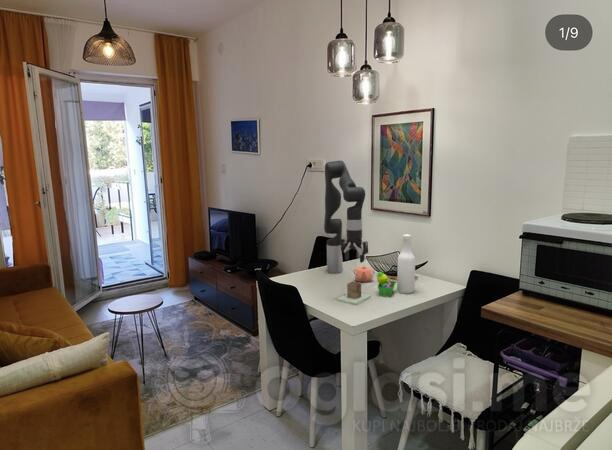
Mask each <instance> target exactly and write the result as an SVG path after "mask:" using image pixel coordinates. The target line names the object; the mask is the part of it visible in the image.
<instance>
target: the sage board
mask: <svg viewBox="0 0 612 450" xmlns="http://www.w3.org/2000/svg"><path fill="white" fill-rule="evenodd" d="M370 298H372V294H371V295H370V294H366V293H362V292H361V297H360V298H358V299H352V298H348V297H347V293H346V294H345V295H342V296H339V297H337V298H336V301H338V302H342V303H345V304H349V305H353V306H354V305H355V306H357V305H359V304H361V303H363V302H365V301H367V300H369V299H370Z"/></svg>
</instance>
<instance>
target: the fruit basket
mask: <svg viewBox="0 0 612 450" xmlns="http://www.w3.org/2000/svg"><path fill="white" fill-rule="evenodd" d="M376 277H377V278H376V279H377V283H378V285H377V289H378V292H379V296H381V297H391V296H392V294H393V292H394V289H395V285H396V281H394V280H389V278H388V276H387V275H386V274H384V272H383V271H379V272H377V275H376Z"/></svg>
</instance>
